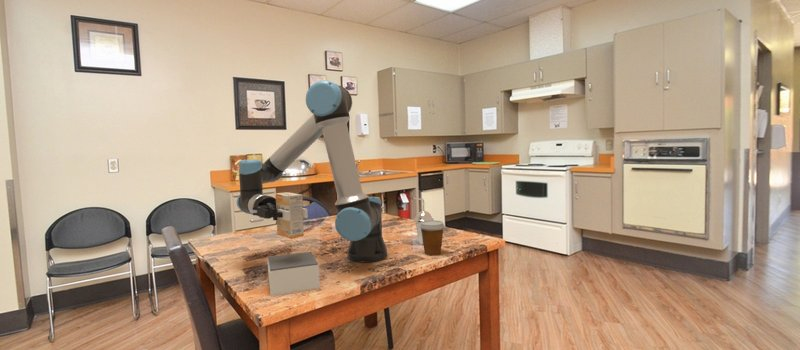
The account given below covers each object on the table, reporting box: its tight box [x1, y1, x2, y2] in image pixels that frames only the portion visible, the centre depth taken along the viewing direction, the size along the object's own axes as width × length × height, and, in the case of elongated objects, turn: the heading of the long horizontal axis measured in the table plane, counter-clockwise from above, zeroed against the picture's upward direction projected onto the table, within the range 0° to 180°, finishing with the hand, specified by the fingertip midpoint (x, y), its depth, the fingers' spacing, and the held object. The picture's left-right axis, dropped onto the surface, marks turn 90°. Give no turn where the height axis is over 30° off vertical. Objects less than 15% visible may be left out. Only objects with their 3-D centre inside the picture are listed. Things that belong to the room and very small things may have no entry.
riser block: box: [266, 251, 321, 297], centre depth 120 cm, size 14×14×8 cm
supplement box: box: [275, 191, 305, 240], centre depth 118 cm, size 8×5×13 cm, turn 46°
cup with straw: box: [411, 197, 434, 245], centre depth 164 cm, size 8×9×20 cm
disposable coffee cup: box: [420, 219, 445, 256], centre depth 149 cm, size 10×10×12 cm
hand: (297, 214), depth 114 cm, fingers closed on supplement box, 5 cm apart
